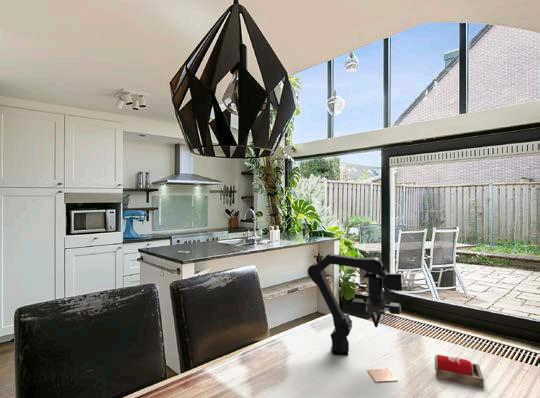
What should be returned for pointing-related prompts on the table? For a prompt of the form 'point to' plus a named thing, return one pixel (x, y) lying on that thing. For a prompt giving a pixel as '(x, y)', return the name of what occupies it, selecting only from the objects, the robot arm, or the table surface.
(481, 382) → the walnut corral
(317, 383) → the table surface
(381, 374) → the terracotta tile
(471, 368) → the beverage can
